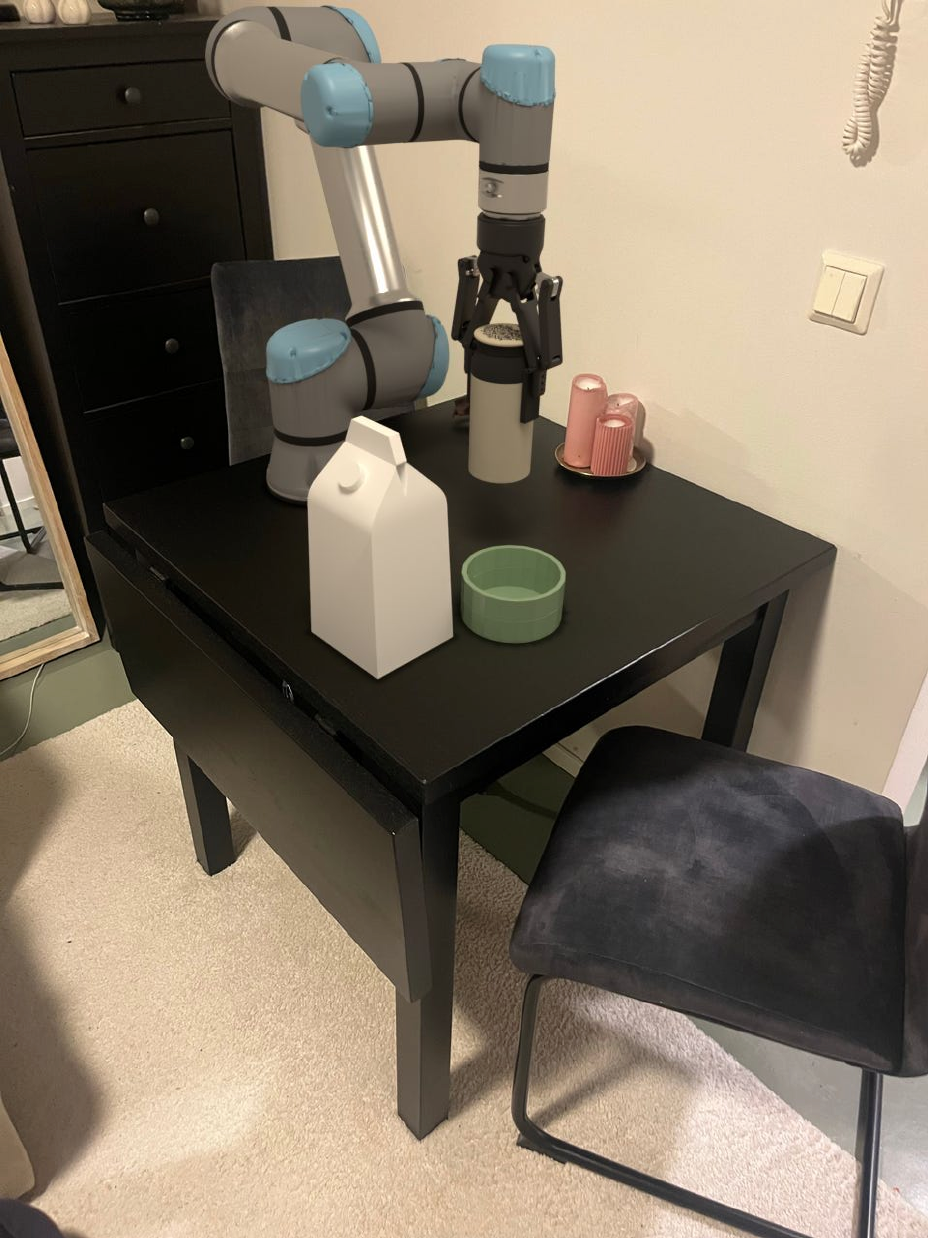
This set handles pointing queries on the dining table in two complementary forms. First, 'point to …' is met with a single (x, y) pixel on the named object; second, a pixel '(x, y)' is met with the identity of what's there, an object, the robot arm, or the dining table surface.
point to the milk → (378, 553)
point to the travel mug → (498, 406)
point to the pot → (512, 593)
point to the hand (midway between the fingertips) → (502, 409)
